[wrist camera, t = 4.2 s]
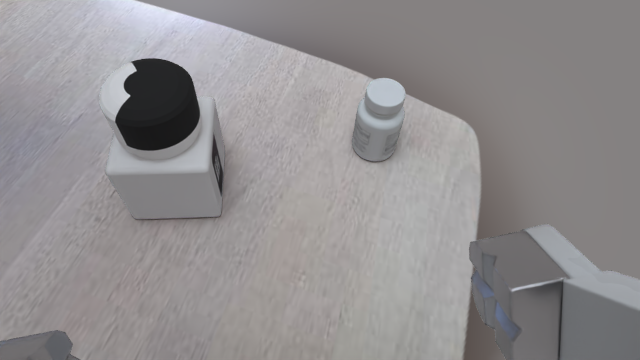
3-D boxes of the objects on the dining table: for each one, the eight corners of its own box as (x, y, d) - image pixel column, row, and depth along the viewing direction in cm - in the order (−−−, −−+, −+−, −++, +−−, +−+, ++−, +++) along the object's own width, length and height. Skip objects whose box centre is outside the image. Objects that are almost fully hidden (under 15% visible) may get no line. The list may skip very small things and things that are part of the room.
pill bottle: (395, 130, 47) (411, 76, 41) (394, 165, 45) (410, 113, 39) (353, 125, 47) (362, 70, 41) (350, 160, 45) (359, 107, 39)
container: (225, 149, 45) (204, 45, 34) (221, 218, 41) (195, 125, 30) (145, 150, 45) (97, 45, 34) (133, 221, 40) (73, 127, 29)
